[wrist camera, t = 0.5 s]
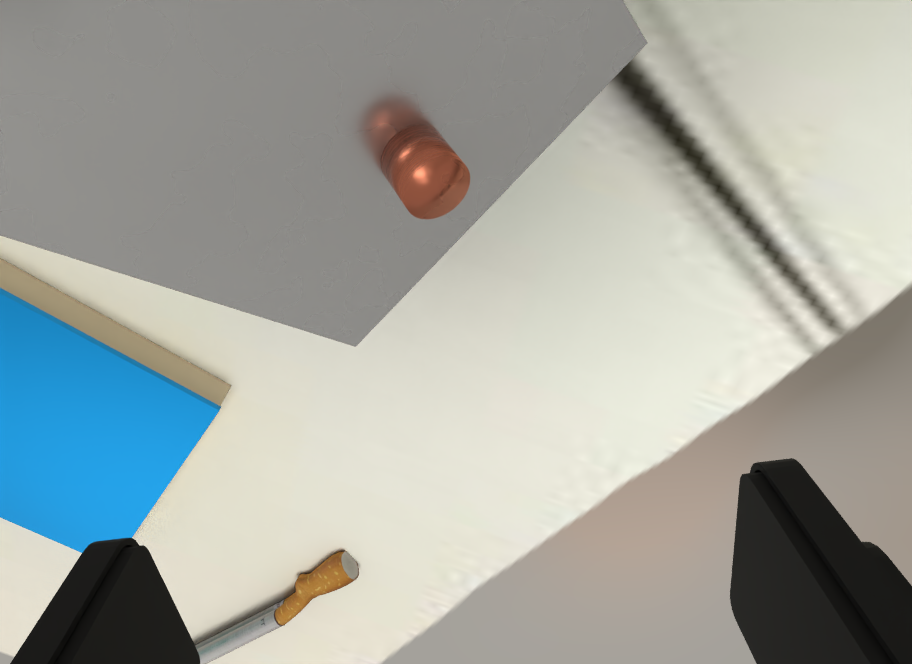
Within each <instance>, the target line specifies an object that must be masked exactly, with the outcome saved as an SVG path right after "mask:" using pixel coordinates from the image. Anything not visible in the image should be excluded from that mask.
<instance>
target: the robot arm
mask: <svg viewBox="0 0 912 664" xmlns="http://www.w3.org/2000/svg"><path fill="white" fill-rule="evenodd" d="M735 532H736V533H735V543H734V555H733V566H732V578H731V589H730V599H731V606H732V610H733V613H734V616H735V619H736V621H737V623H738V626H739V628H740V630H741V632H742V634H743V636H744V638H745V640H746V642H747V644H748V646H749V648H750V650H751V653H752V655H753V657H754V659H755V661H756V663H757V664H912V586H911V585H910V583H909V582H908V581H907V580H906V578H905V577H904V576H903V575H902V573H901V572H900V571H899V570H898V569H897V567H896V566H895V565H894V564H893V562H892V561H891V560H890V559H889V557H888V556H887V555H886V554H885V553H884V552H883V551H882V550H881V549H880V548H879V547H878V546H876V545H874V544H872V543H871V542H861V541H860V540H859V538H858V537H857V536H856V534H855V533H854V532H853V531H852V529H851V528H850V527H849V526H848V524H847V523H846V522H845V520H844V519H843V518H842V517H841V515H840V514H839V513H838V511H837V510H836V509H835V508H834V506H833V505H832V504H831V502H830V501H829V500H828V499H827V497H826V496H825V495H824V494H823V492H822V491H821V490H820V488H819V487H818V486H817V484H816V483H815V482H814V481H813V479H812V478H811V477H810V476H809V474H808V473H807V472H806V470H805V469H804V468H803V467H802V465H801V464H800V463H799V462H798V461H796V460H795V459H792V458H791V459H783V460H775V461H767V462H758V463H754V464H753V466H752V467H751V471H750V473H748V474H742V476H741V478H740V485H739V497H738V509H737V520H736V531H735ZM10 664H200V656H199V653H198V651H197V649H196V647H195V645H194V643H193V641H192V639H191V637H190V634H189V632H188V630H187V628H186V626H185V624H184V622H183V620H182V618H181V616H180V614H179V612H178V610H177V608H176V606H175V604H174V602H173V600H172V597H171V595H170V593H169V591H168V589H167V587H166V585H165V583H164V581H163V579H162V577H161V575H160V573H159V571H158V569H157V567H156V565H155V563H154V560H153V558H152V556H151V554H150V552H149V550H148V549H147V548H146V547H145V546H139V544H138V543H137V542H136V540H134V539H133V538H121V539H112V540H104V541H96V542H93V543H91V544H89V545H88V546H87V547H86V549H85V550H84V551H83V553H82V554H81V556H80V557H79V559H78V560H77V562H76V564H75V565H74V567H73V568H72V570H71V571H70V573H69V574H68V576H67V577H66V579H65V580H64V582H63V583H62V585H61V587H60V588H59V590H58V591H57V593H56V594H55V596H54V597H53V599H52V600H51V602H50V603H49V605H48V607H47V608H46V610H45V611H44V613H43V614H42V616H41V617H40V619H39V620H38V622H37V623H36V625H35V626H34V628H33V630H32V631H31V633H30V634H29V636H28V637H27V639H26V640H25V642H24V643H23V645H22V646H21V648H20V649H19V651H18V653H17V654H16V656H15V657H14V659H13V660H12V662H11V663H10Z"/></svg>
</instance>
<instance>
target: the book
mask: <svg viewBox="0 0 912 664" xmlns="http://www.w3.org/2000/svg"><path fill="white" fill-rule="evenodd" d="M230 387H231V385H229V384H227V383H226V382H224V381H222V380H220V379H218V378H217V377H215V376H213V375H211V374H209V373H207V372H206V371H204V370H202V369H200V368H198V367H197V366H195V365H193V364H191V363H189V362H188V361H186V360H184V359H182V358H180V357H178V356H177V355H175V354H173V353H171V352H169V351H168V350H166V349H164V348H162V347H160V346H158V345H157V344H155V343H153V342H151V341H149V340H148V339H146V338H144V337H142V336H140V335H139V334H137V333H135V332H133V331H131V330H129V329H128V328H126V327H124V326H122V325H120V324H119V323H117V322H115V321H113V320H111V319H110V318H108V317H106V316H104V315H102V314H100V313H99V312H97V311H95V310H93V309H91V308H90V307H88V306H86V305H84V304H82V303H80V302H79V301H77V300H75V299H73V298H71V297H70V296H68V295H66V294H64V293H62V292H61V291H59V290H57V289H55V288H53V287H51V286H50V285H48V284H46V283H44V282H42V281H41V280H39V279H37V278H35V277H33V276H32V275H30V274H28V273H26V272H24V271H22V270H21V269H19V268H17V267H15V266H13V265H12V264H10V263H8V262H6V261H4V260H3V259H1V258H0V517H1V518H3V519H5V520H8V521H10V522H12V523H15V524H17V525H19V526H22V527H24V528H26V529H29V530H31V531H33V532H35V533H38V534H40V535H42V536H45V537H47V538H49V539H52V540H54V541H56V542H58V543H61V544H63V545H65V546H68V547H70V548H72V549H75V550H77V551H79V552H81V553H83V551H84V550H85V549H86V547H87V546H88V545H89V544H91V543H93V542H96V541H104V540H112V539H121V538H132V536H133V535H134V534H135V532H136V531H137V529H138V528H139V526H140V525H141V523H142V522H143V521H144V519H145V518H146V516H147V515H148V513H149V512H150V510H151V509H152V507H153V506H154V505H155V503H156V502H157V500H158V499H159V497H160V496H161V494H162V493H163V492H164V490H165V489H166V487H167V486H168V484H169V483H170V481H171V480H172V478H173V477H174V476H175V474H176V473H177V471H178V470H179V468H180V467H181V465H182V464H183V463H184V461H185V460H186V458H187V457H188V455H189V454H190V452H191V451H192V449H193V448H194V447H195V445H196V444H197V442H198V441H199V439H200V438H201V436H202V435H203V434H204V432H205V431H206V429H207V428H208V426H209V425H210V423H211V422H212V420H213V419H214V418H215V416H216V415H217V413H218V412H219V410H220V408H221V404H222V402H223V400H224V398H225V396H226V394H227V392H228V391H229V389H230Z"/></svg>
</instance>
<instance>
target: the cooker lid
mask: <svg viewBox="0 0 912 664" xmlns="http://www.w3.org/2000/svg"><path fill="white" fill-rule="evenodd" d="M646 44H647V41H646V40H645V38H644V36H643V34H642V33H641V31H640V29H639V27H638V26H637V24H636V22H635V21H634V19H633V17H632V15H631V14H630V12H629V10H628V9H627V7H626V5H625V3H624V2H623V0H0V235H1V236H4V237H7V238H10V239H13V240H17V241H20V242H23V243H26V244H29V245H33V246H36V247H39V248H42V249H45V250H48V251H52V252H55V253H58V254H61V255H64V256H68V257H71V258H74V259H77V260H80V261H84V262H87V263H90V264H93V265H96V266H100V267H103V268H106V269H109V270H112V271H116V272H119V273H122V274H125V275H128V276H132V277H135V278H138V279H141V280H144V281H148V282H151V283H154V284H157V285H160V286H164V287H167V288H170V289H173V290H176V291H179V292H183V293H186V294H189V295H192V296H195V297H199V298H202V299H205V300H208V301H211V302H215V303H218V304H221V305H224V306H227V307H231V308H234V309H237V310H240V311H243V312H247V313H250V314H253V315H256V316H259V317H263V318H266V319H269V320H272V321H275V322H279V323H282V324H285V325H288V326H291V327H294V328H298V329H301V330H304V331H307V332H310V333H314V334H317V335H320V336H323V337H326V338H330V339H333V340H336V341H339V342H342V343H346V344H349V345H352V346H355V347H356V346H357V345H358V344H359V343H360V342H361V341H362V340H363V338H364V337H365V336H366V335H367V334H368V333H369V332H370V331H371V330H372V329H373V328H374V327H375V326H376V325H377V324H378V323H379V322H380V321H381V320H382V319H383V318H384V317H385V316H386V315H387V313H388V312H389V311H390V310H391V309H392V308H393V307H394V306H395V305H396V304H397V303H398V302H399V301H400V300H401V299H402V298H403V297H404V296H405V295H406V294H407V293H408V292H409V291H410V290H411V289H412V287H413V286H414V285H415V284H416V283H417V282H418V281H419V280H420V279H421V278H422V277H423V276H424V275H425V274H426V273H427V272H428V271H429V270H430V269H431V268H432V267H433V266H434V265H435V264H436V262H437V261H438V260H439V259H440V258H441V257H442V256H443V255H444V254H445V253H446V252H447V251H448V250H449V249H450V248H451V247H452V246H453V245H454V244H455V243H456V242H457V241H458V240H459V239H460V238H461V236H462V235H463V234H464V233H465V232H466V231H467V230H468V229H469V228H470V227H471V226H472V225H473V224H474V223H475V222H476V221H477V220H478V219H479V218H480V217H481V216H482V215H483V214H484V213H485V211H486V210H487V209H488V208H489V207H490V206H491V205H492V204H493V203H494V202H495V201H496V200H497V199H498V198H499V197H500V196H501V195H502V194H503V193H504V192H505V191H506V190H507V189H508V188H509V187H510V185H511V184H512V183H513V182H514V181H515V180H516V179H517V178H518V177H519V176H520V175H521V174H522V173H523V172H524V171H525V170H526V169H527V168H528V167H529V166H530V165H531V164H532V163H533V162H534V160H535V159H536V158H537V157H538V156H539V155H540V154H541V153H542V152H543V151H544V150H545V149H546V148H547V147H548V146H549V145H550V144H551V143H552V142H553V141H554V140H555V139H556V138H557V137H558V136H559V134H560V133H561V132H562V131H563V130H564V129H565V128H566V127H567V126H568V125H569V124H570V123H571V122H572V121H573V120H574V119H575V118H576V117H577V116H578V115H579V114H580V113H581V112H582V111H583V110H584V108H585V107H586V106H587V105H588V104H589V103H590V102H591V101H592V100H593V99H594V98H595V97H596V96H597V95H598V94H599V93H600V92H601V91H602V90H603V89H604V88H605V87H606V86H607V85H608V83H609V82H610V81H611V80H612V79H613V78H614V77H615V76H616V75H617V74H618V73H619V72H620V71H621V70H622V69H623V68H624V67H625V66H626V65H627V64H628V63H629V62H630V61H631V60H632V59H633V57H634V56H635V55H636V54H637V53H638V52H639V51H640V50H641V49H642V48H643V47H644V46H645V45H646Z"/></svg>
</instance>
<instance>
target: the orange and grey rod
mask: <svg viewBox="0 0 912 664" xmlns="http://www.w3.org/2000/svg"><path fill="white" fill-rule="evenodd" d="M358 575H359V568H358V565H357V562H356V560H355V559H354V558H353V557H352V556H351V555H350V554H349V553H348V552H347V551H344V552H338V553H336V554H334V555H332V556H330V557H329V558H328V559H327V560H325V561H324V562H323V563H322V564H321V565H319V566H318V567H317V568H316V569H315V570H314V571H313V572H312V573H310V574H300V576H299V577H298V578H297V581H296V583H295V588H296V592H295V593H293V594H292V595H291V596H289V597H288V598H286V599H284V600H282V601H280V602H279V603H277V604H275V605H273V606H271V607H269V608H267V609H265V610H263V611H261V612H259V613H257V614H255V615H253V616H251V617H250V618H248V619H246V620H244V621H242V622H240V623H238V624H236V625H234V626H232V627H230V628H228V629H226V630H224V631H222V632H220V633H218V634H216V635H214V636H212V637H210V638H208V639H206V640H204V641H202V642H200V643H199V644H197V645H195V647H196V649H197V651H198V653H199V656H200V664H207V663H209V662H211V661H213V660H215V659H217V658H219V657H221V656H223V655H225V654H227V653H229V652H231V651H233V650H235V649H237V648H239V647H241V646H243V645H245V644H247V643H249V642H251V641H253V640H255V639H257V638H259V637H261V636H263V635H265V634H267V633H269V632H271V631H273V630H275V629H277V628H279V627H281V626H283V625H285V624H286V623H287V622H289V621H290V620H291V619H292V618H294V617H295V616H296V615H297V614H298V613H299V612H300V611H301V610H302V609H303V608H304V607H305V606H306V605H307V604H308V603H309V602H310V601H311V600H312V599H313V598H315V597H317V596H319V595H323V594H326V593H329V592H332V591H335V590H337V589H340V588H342V587H344V586H346V585H348V584H350V583H351V582H353V581H354V580H355V579H356V578H358Z"/></svg>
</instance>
